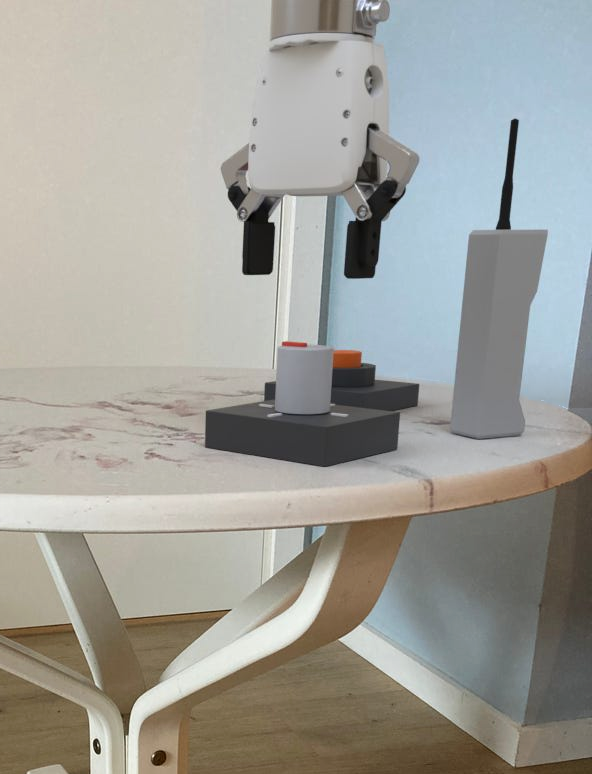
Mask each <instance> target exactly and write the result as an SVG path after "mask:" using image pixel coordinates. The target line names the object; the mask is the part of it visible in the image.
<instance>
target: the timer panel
mask: <svg viewBox="0 0 592 774" xmlns="http://www.w3.org/2000/svg"><path fill="white" fill-rule="evenodd" d="M400 421H401V412H400V411H394V410H392V411H384V410H376V409H367V408H359V407H350V406H342V405H335V404H330V411H329V412H327V413H323V414H312V415H299V414H286V413H280V412H277V411H275V399H274V400H268V401H264V400H263V401H256V402H250V403H242V404H238V405H232V406H231V405H230V406H225V407H219V408H213V409H207V410H205V427H204V433H205V434H204V448H207V449H208V448H209V449H214V450H220V451H228V452H232V453H233V452H234V453H239V454H246V455H251V456H256V457H257V456H258V457H262V458H263V457H264V458H270V459H276V460H283V461H289V462H294V463H300V464H306V465H312V466H318V467H324V468H325V467H329V466H333V465H338V464H342V463H346V462H350V461H354V460H359V459H364V458H367V457H372V456H376V455H379V454H383V453H388V452H393V451H397V450H398V445H399V431H400Z"/></svg>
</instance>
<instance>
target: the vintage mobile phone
mask: <svg viewBox="0 0 592 774" xmlns="http://www.w3.org/2000/svg"><path fill="white" fill-rule="evenodd" d="M519 124H520V119H517V118H515V117H514V118H513V119H511V120H510V125H509V134H508V135H509V136H508V145H507V146H508V147H507V152H506V153H507V156H506V165H505V174H504V180H503V184H502V187H501V195H500V196H501V197H500V205H499V206H500V207H499V213H498V214H499V216H498V221H497V223H496V227H495V229H473V230H472V231H471V232H470V233H469V234H468V241H467V252H466V262H465V272H464V280H463V281H464V282H463V290H462V291H463V292H462V303H461V304H462V305H461V313H460V323H459V333H458V343H457V351H456V352H457V354H456V364H455V372H454V373H455V374H454V383H453V384H454V385H453V393H452V405H451V414H450V423H449V430H450V431H451V433H453V434H455V435H460V436H463V437H467V438H468V437H469V438H472V439H478V440H483V439H484V440H485V439H494V438H495V439H496V438H506V437H507V438H508V437H516V436H521V435H522V434H523V433H524V432H525V428H526V427H525V426H526V419H525V415H524V412H523V407H522V405H521V401H520V397H521V390H522V389H521V388H522V379H523V372H524V371H523V370H524V363H525V354H526V345H527V336H528V330H529V329H528V328H529V321H530V319H529V318H530V313H531V305H532V303H533V301H534V299H535V297H536V294H537V292H538V289H539V285H540V278H541V273H542V268H543V261H544V257H545V252H546V246H547V241H548V235H549V234H548V233H549V230H548V229H512V225H511V212H512V211H511V210H512V202H513V192H514V170H515V160H516V151H517V142H518V134H519V133H518V132H519V126H520V125H519Z"/></svg>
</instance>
